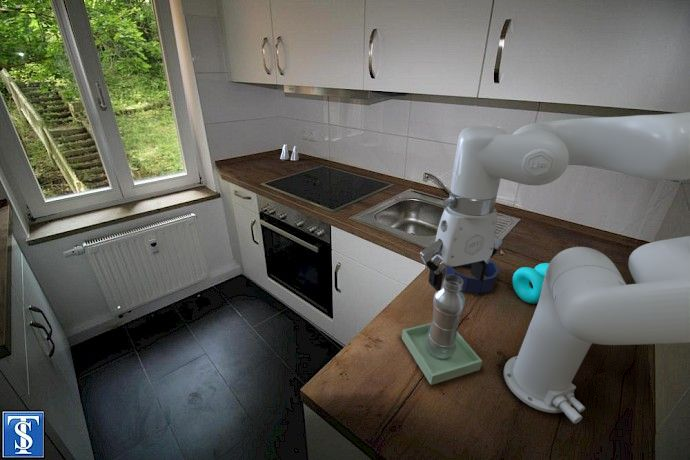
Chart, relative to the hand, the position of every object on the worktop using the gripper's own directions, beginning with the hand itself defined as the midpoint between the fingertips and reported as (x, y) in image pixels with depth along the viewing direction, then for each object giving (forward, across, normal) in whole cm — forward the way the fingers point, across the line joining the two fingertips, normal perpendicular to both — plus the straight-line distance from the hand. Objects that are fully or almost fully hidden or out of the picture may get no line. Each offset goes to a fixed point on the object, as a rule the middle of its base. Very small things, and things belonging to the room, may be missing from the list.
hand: (455, 281), depth 62 cm
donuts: (+21, +36, +10) cm, 43 cm away
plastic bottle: (+20, 0, 0) cm, 20 cm away
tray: (+20, -1, 0) cm, 21 cm away
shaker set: (+19, -8, +172) cm, 173 cm away
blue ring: (+20, +24, +22) cm, 39 cm away
